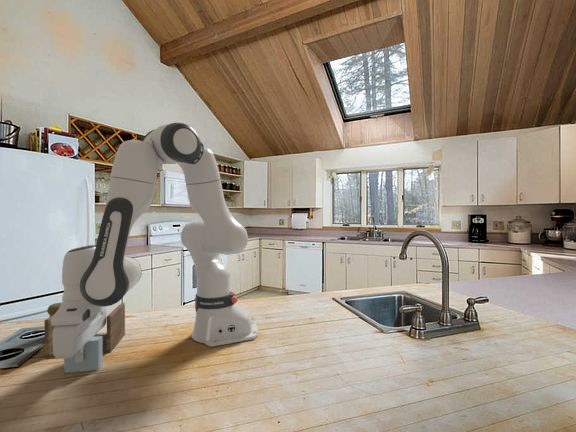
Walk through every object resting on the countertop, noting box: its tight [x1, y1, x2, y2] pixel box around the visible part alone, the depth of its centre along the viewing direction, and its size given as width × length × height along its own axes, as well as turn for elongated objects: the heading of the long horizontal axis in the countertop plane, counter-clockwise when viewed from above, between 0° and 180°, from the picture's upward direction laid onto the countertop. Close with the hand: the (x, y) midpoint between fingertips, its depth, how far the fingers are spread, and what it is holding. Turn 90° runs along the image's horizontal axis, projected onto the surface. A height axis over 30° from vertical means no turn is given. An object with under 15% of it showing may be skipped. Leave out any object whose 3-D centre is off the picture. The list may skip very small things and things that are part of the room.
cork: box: [46, 302, 62, 317], centre depth 94 cm, size 6×6×11 cm
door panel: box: [63, 336, 104, 374], centre depth 75 cm, size 8×2×8 cm, turn 102°
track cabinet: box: [44, 302, 126, 359], centre depth 88 cm, size 17×12×11 cm
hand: (84, 357), depth 75 cm, fingers closed on door panel, 2 cm apart
